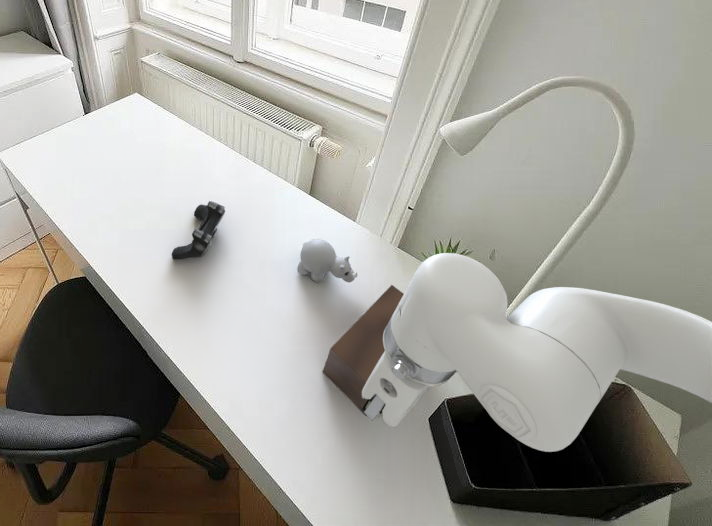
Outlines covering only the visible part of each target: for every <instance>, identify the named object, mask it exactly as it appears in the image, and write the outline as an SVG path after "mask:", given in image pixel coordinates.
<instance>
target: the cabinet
mask: <svg viewBox="0 0 712 526" xmlns="http://www.w3.org/2000/svg"><path fill="white" fill-rule="evenodd" d="M403 295H404V292H402V291H401V290H400V289H398V288H397V287H396V286H394V285H393V284H391V285H390V286H389V287H388V288H387V289H386V290H385V291H384V292H383V293H382V294H381V295H380V296H378V298H377V299H376V300H375V302H373V304H372V305H370V307H369V308H368V309H366V311H365V312H363V314H362V315H361V316H360V317H359V318H358V319H357V320H356V321H355V322H354V323H353V324H352V325H351V326H350V327H349V328H348V330H346V332H345V333H343V335H342V336H341V337H340V338H339V339H338V340H337V341H336V342H335V343H334V344H333V345H332V346H331V347H330V349H329V351H328V354H327V357H326V360H325V363H324V366H323V369H322V373H323V374H324V375H325V376H326V378H327V379H329V380H330V382H332V383H333V385H335V386H336V387H337V388H338V390H340V391H341V392H342V394H344V396H345V397H346V398H348V399H349V401H350V402H351V403H352V404H353V405H354V406H356V407H357V408H358V410H360V411H361V413H363V415H364V416H365V417H368V416H367V415H366V414H365V413H364V411H365V410H366V408H365V407H366V405H367V403H368V402H369V400H368V399H365V398H364V399H363V398H362V390H363V388H364V386H365V384H366V382H367V380H368V378H369V377H370V375H371V373H372V371H373V370H374V368H375V366H376V364H377V363H378V361H379V359H380V358H381V356H382V355H383V353H384V351H385V349H384V345H383V333H384V330H385V328H386V326H387V324H388V322H389V321H390V319H391V317H392V315H393V313H394V312H395V310H396V308H397V306H398V304H399V302H400V300H401V298H402V297H403Z"/></svg>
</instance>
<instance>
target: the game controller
mask: <svg viewBox="0 0 712 526" xmlns="http://www.w3.org/2000/svg"><path fill="white" fill-rule="evenodd" d="M225 209H226V207H225V206H224V205H221V204H219V203H217V202H215V201H212V200H211V201H210V200H208V203H207V204H199V205H198V206H196V208H195V210H194V211H193V216H194V217H195V219H198V220H199V221H201V224H200V226H199V227H198V228H194V229H193V231H192V233H191V236H192V241H191V242H190V243H188V244H186V245H180V246H176V247H175V248H173V250H172V252H171V259H172V260H174V261H179V260H180V261H181V260H187V259H193V258H202V257H203V256H204V255H205V254H206V252H207V251H209V249H211V246H212V240H213V239H212V238H214V237H216V235H217V233H218V231H219V230H218V228H217V227H218V225H219V224H220V222H221V221H222V219H223V217H224V215H225V213H226V210H225Z"/></svg>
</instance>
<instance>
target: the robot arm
mask: <svg viewBox="0 0 712 526" xmlns="http://www.w3.org/2000/svg"><path fill="white" fill-rule="evenodd" d="M403 294H404V295H403V297H402V298H401V300H400V302H399V304H398V306H397V308H396V310H395V312H394V313H393V315H392V317H391V319H390V321H389V322H388V324H387V326H386V328H385V330H384V333H383V345H384V349H385V351H384V353H383V355H382V356H381V358H380V359H379V361H378V363H377V364H376V366H375V368H374V370H373V371H372V373H371V375H370V377H369V378H368V380H367V382H366V384H365V386H364V388H363V390H362V398H363V399H364V398H365V399H368V400H369V401H370V402H371V403H370V404H369V406H368V407H367V409H366V410H365V411H364V413H365V414H366V415H367V416H366V415H365V414H364V413H363V414H364V415H365V416H366V417H368V418H369V419H370V420H371V421H374V420H375V418H376V417H377V416H378V415H379V414H380V415H381V414H382V419H383V421H384V422H385V423H386V424H387V425H388V426H389V427H392V428H396V427H397V426H398V425H400V423H401V422H402V420H403V419H404V418H405V417H406V416H407V414H408V413H409V412H410V411H411V409H412V408H413V407H414V406H415V404H416V403H417V402H418V401H419V400H420V399H421V398H422V396H424V394H425V393H426V392H427V390H428V389H429V388H430V387H431V386H439V385H443V384H445V383H447V382H448V381H449V380H450V379H451V378H452V377H453V376H454V375H455V374H456V373H457V374H458V375H459V377H460V378H461V379H462V381H464V383H465V385H466V386H467V387H468V389H469V390H470V392H472V394H473V395H474V396H475V398H476V399H477V401H478V402H479V403H480V404H481V406H482V407H483V408H484V409H485V410H486V412H487V413H488V415H489V416H490V418H491V419H492V420H493V421H494V422H495V423H496V424H497V425H498V426H499V427H500V428H501V429H503V430H504V431H505V432H506V433H508V434H509V435H511V437H513V438H514V439H516V440H517V441H519V442H520V443H522V444H523V445H525V446H527V447H529V448H531V449H535V450H537V451H541V452H545V453H547V452H548V453H552V452H559V451H562V450H564V449H565V448H567V447H568V446H570V445H571V444H572V443H573V442H574V441H575V440H576V439H577V437H578V436H579V435H580V432H582V430H583V428H584V427H585V425H586V423H587V422H588V420H589V418H590V417H591V416H592V414H593V412H594V411H595V409H596V408H597V406H598V405H599V403H600V402H601V400H602V399H603V397H604V395H605V394H606V392H607V390H608V389H609V388H610V386H611V384H612V382H613V381H614V380H615V378H616V377H617V375H618V373H619V371H625V372H629V373H632V374H635V375H638V376H642V377H645V378H649V379H652V380H655V381H657V382H661V383H665V384H668V385H671V386H673V387H676V388H678V389H681V390H684V391H686V392H688V393H690V394H692V395H695V396H697V397H699V398H702V399H703V400H705V401H707V402H708V403H710V404H712V321H711V320H709V319H707V318H704V317H703V316H700V315H698V314H695V313H693V312H690V311H687V310H685V309H681V308H678V307H675V306H671V305H668V304H665V303H661V302H656V301H653V300H648V299H643V298H638V297H632V296H627V295H624V294H622V295H621V294H617V293H612V292H606V291H602V290H601V291H600V290H596V289H590V288H583V287H572V286H571V287H570V286H569V287H567V286H554V287H548V288H543V289H539V290H537V291H535V292H533V293H531V294H530V295H528V296H527V297H526V298H525V299H524V300H523V301H522V302H521V303H519V305H518V306H517V307H516V308H515V309H514V310H513V311H512V312H511V313H510V315H509V316H508V317H507V312H508V295H507V292H506V289H505V288H504V286H503V284H502V282H501V281H500V279H499V278H498V277H497V276H496V275H495V274H494V272H493V271H492V270H490V269H489V268H488V267H487V266H485V265H484V264H483V263H481V262H480V261H478V260H476V259H474V258H472V257H469V256H467V255H463V254H459V253H454V252H444V253H443V252H441V253H437V254H434V255H431V256H429V257H427V258H426V259H424V260H423V261H422V262H421V263H420V264H419V266H418V268H417V269H416V270H415V273H414V274H413V276H412V278H411V280H410V282H409V283H408V285H407V287H406V289H405V291H404V292H403Z"/></svg>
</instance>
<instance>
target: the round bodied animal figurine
mask: <svg viewBox="0 0 712 526" xmlns="http://www.w3.org/2000/svg"><path fill="white" fill-rule="evenodd" d="M349 259H350V256H346V257H342V256H337V253H336V251H335V249H334V247H333V245H331V243H330V242H328V241H327V240H325V239H322V238H313V239H310V240H308V241H307V242H306V241H305V242H304V243H303V244H302V247H301V250H300V262H298V264H297V267H296V268H297V272H298V274H300V275H302V276H306V275H308V274H309V273H310V278H311V280H312V281H313V282H317V283H319V282H322V281H323V279H324V277H325V274H327V273H329V272H330V273H331V275H332V276H333V277H335V278H337V279H341V280H343V281H344V282H346V283H352V282H353V281H355V279H356V278H357V277H358V272H355V271H354V270H353V269H352V267H351V263H350V261H349Z"/></svg>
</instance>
